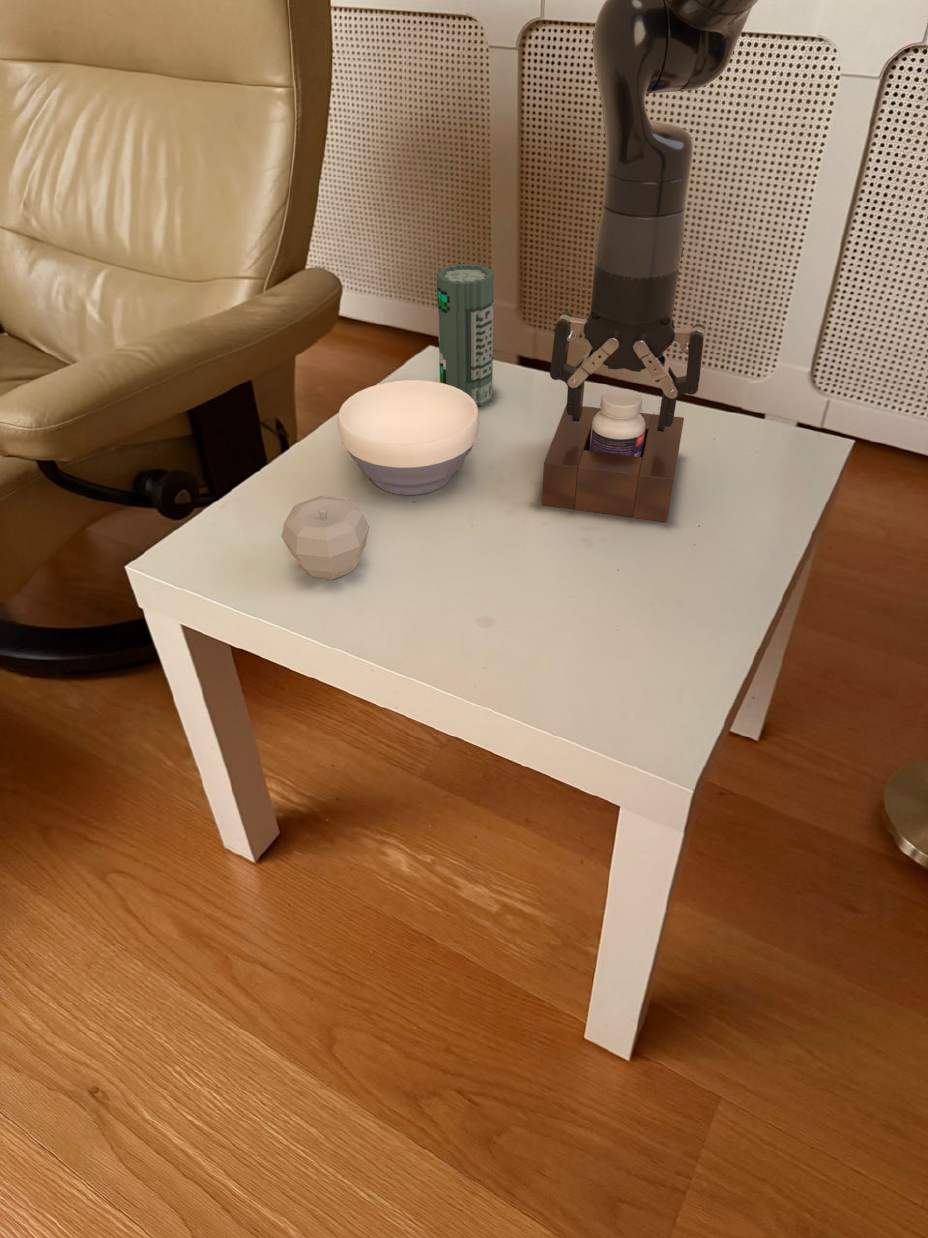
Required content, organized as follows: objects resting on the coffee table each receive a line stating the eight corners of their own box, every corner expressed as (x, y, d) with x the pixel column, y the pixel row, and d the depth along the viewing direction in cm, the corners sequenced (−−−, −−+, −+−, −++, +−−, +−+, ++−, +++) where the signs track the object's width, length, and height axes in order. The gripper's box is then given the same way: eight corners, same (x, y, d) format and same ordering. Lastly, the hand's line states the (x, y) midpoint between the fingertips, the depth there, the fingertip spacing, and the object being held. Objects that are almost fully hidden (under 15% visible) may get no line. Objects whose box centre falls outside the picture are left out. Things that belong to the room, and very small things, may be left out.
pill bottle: (641, 495, 91) (652, 410, 85) (588, 495, 91) (596, 410, 85) (634, 468, 95) (645, 384, 89) (584, 468, 95) (592, 384, 89)
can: (462, 380, 112) (460, 260, 102) (500, 394, 109) (503, 271, 99) (431, 398, 108) (426, 275, 98) (470, 413, 105) (469, 287, 95)
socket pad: (677, 458, 97) (684, 417, 93) (666, 522, 87) (674, 479, 84) (563, 444, 99) (566, 403, 96) (541, 505, 90) (543, 462, 87)
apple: (390, 560, 83) (385, 502, 79) (336, 605, 78) (327, 545, 74) (326, 533, 87) (318, 476, 82) (270, 575, 82) (258, 516, 77)
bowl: (470, 436, 101) (470, 374, 96) (488, 507, 90) (488, 440, 85) (343, 446, 100) (336, 383, 95) (345, 518, 89) (337, 451, 84)
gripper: (550, 266, 77) (542, 432, 88) (717, 280, 74) (687, 449, 85) (565, 239, 82) (556, 398, 93) (721, 250, 80) (693, 413, 90)
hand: (618, 422), depth 89 cm, fingers open, 8 cm apart
